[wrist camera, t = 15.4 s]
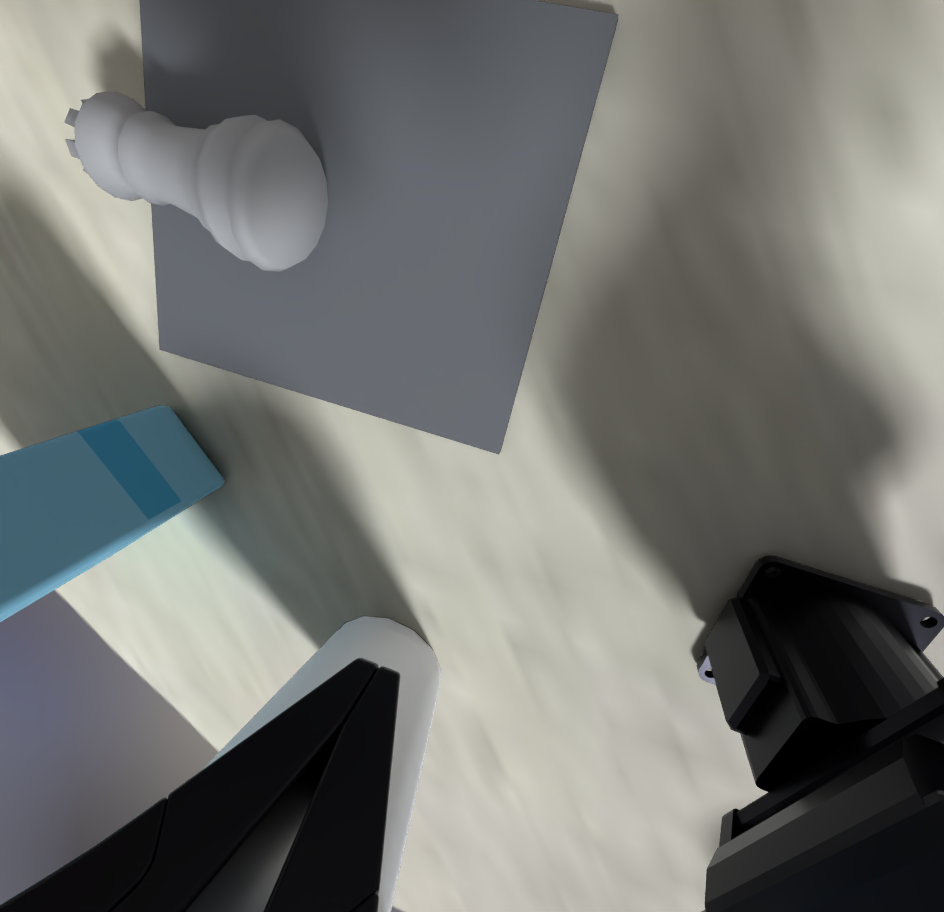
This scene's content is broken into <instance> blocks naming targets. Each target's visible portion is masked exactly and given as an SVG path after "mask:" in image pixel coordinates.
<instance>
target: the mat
mask: <svg viewBox="0 0 944 912" xmlns="http://www.w3.org/2000/svg"><path fill="white" fill-rule="evenodd" d="M140 16H141V33H142V51H143V68H144V86H145V103H146V111H153V112H156V113H158V114H161V115H163V116H166V117H167V118H168V119H169V120H170V121H171V122H172V123H174V124H175V125H176V126H180V127H188V128H197V129H207V128H208V127H209V126H210V125H216V124H220V123H221V122H223V121H224V120H225V119H228V118H234V117H241V116H248V115H257V116H259V117H261V118H263V119H265V120H267V121H272V120H277V119H280V120H282V121H284V122H286V123H288V124H290V125H292V126H294V127H296V128H298V129H299V130H300V132H301V133H302V134H303V136H304V137H305V139H306V140H307V141H308V143H309V144H310V146H311V147H312V148H313V150H314V151H315V153H316V154H317V156H318V157H319V159H320V161H321V164H322V167H323V171H324V174H325V177H326V180H327V194H328V208H327V214H326V220H325V226H324V229H323V231H322V234H321V236H320V239H319V241H318V244H317V246H316V247H315V248H314V249H313V251H312V252H311V253H310V254H309V256H308V257H307V258H306V259H305V260H303V261H301V262H299V263H297V264H295V265H293V266H291V267H289V268H287V269H285V270H283V271H280V272H278V271H265V270H261V269H260V268H259V267H257V266H256V265H255V264H253V263H252V262H251V261H244V260H240V259H239V258H238V257H236V256H235V255H234V254H232V253H231V252H229V251H228V250H227V249H225V248H224V247H223V246H221V245H220V244H219V243H217V242H216V241H215V239H214V237H213V236H212V234H211V232H210V231H208V230H207V229H206V228H204V227H203V226H202V224H201V222H200V221H199V219H198V218H197V217H195V216H193V215H191V214H189V213H187V212H186V211H184V210H182V209H180V208H178V207H176V206H175V205H172V204H168V205H164V206H163V205H158V204H153V203H151V208H152V225H153V242H154V260H155V277H156V295H157V312H158V329H159V347H160V350H162V351H166V352H169V353H172V354H175V355H179V356H182V357H185V358H188V359H191V360H195V361H198V362H201V363H204V364H208V365H211V366H214V367H217V368H221V369H224V370H227V371H230V372H234V373H237V374H240V375H243V376H247V377H250V378H253V379H256V380H260V381H263V382H266V383H269V384H272V385H276V386H279V387H282V388H285V389H289V390H292V391H295V392H298V393H302V394H305V395H308V396H311V397H315V398H318V399H321V400H324V401H328V402H331V403H334V404H337V405H340V406H344V407H347V408H350V409H353V410H357V411H360V412H363V413H366V414H370V415H373V416H376V417H379V418H383V419H386V420H389V421H392V422H396V423H399V424H402V425H405V426H409V427H412V428H415V429H418V430H421V431H425V432H428V433H431V434H434V435H438V436H441V437H444V438H447V439H451V440H454V441H457V442H460V443H464V444H467V445H470V446H473V447H477V448H480V449H483V450H486V451H490V452H493V453H496V454H499V453H500V451H501V448H502V445H503V441H504V437H505V434H506V430H507V426H508V423H509V419H510V415H511V412H512V408H513V404H514V400H515V397H516V393H517V389H518V386H519V382H520V378H521V375H522V371H523V367H524V364H525V360H526V356H527V353H528V349H529V345H530V342H531V338H532V334H533V331H534V327H535V323H536V320H537V316H538V312H539V309H540V305H541V301H542V298H543V294H544V290H545V287H546V283H547V279H548V276H549V272H550V268H551V265H552V261H553V257H554V254H555V250H556V246H557V242H558V239H559V235H560V231H561V228H562V224H563V220H564V217H565V213H566V209H567V206H568V202H569V198H570V195H571V191H572V187H573V184H574V180H575V176H576V173H577V169H578V165H579V162H580V158H581V154H582V151H583V147H584V143H585V140H586V136H587V132H588V129H589V125H590V121H591V118H592V114H593V110H594V107H595V103H596V99H597V96H598V92H599V88H600V85H601V81H602V77H603V73H604V70H605V66H606V62H607V59H608V55H609V51H610V48H611V44H612V40H613V37H614V33H615V29H616V26H617V22H618V14H612V13H606V12H600V11H594V10H589V9H583V8H577V7H571V6H565V5H559V4H554V3H548V2H542V1H536V0H140Z"/></svg>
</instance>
